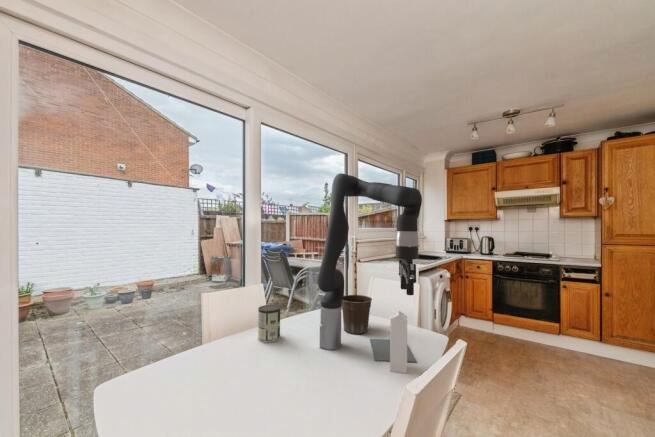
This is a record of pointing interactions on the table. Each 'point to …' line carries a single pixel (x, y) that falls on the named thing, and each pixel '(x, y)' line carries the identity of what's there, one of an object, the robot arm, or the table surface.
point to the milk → (398, 342)
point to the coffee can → (269, 323)
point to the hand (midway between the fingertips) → (406, 292)
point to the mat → (387, 351)
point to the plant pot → (356, 313)
